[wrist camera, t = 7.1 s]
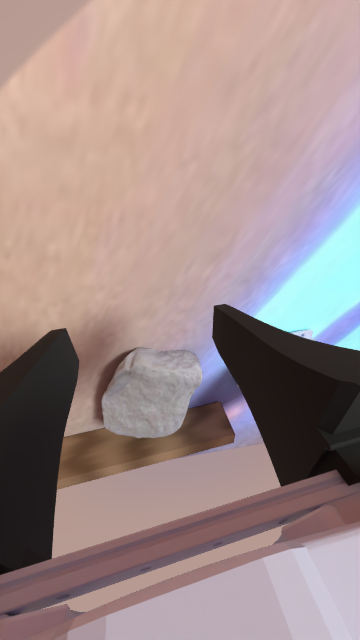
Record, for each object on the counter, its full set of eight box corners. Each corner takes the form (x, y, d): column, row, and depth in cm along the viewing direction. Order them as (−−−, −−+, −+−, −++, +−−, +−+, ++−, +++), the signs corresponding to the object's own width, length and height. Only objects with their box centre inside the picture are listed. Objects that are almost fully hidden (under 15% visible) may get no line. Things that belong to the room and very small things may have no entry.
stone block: (104, 402, 29) (175, 415, 31) (93, 436, 25) (176, 448, 26) (119, 329, 24) (203, 348, 26) (108, 355, 20) (209, 376, 21)
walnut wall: (220, 401, 31) (235, 434, 27) (219, 409, 32) (233, 442, 28) (43, 441, 27) (29, 487, 23) (49, 449, 28) (37, 494, 24)
